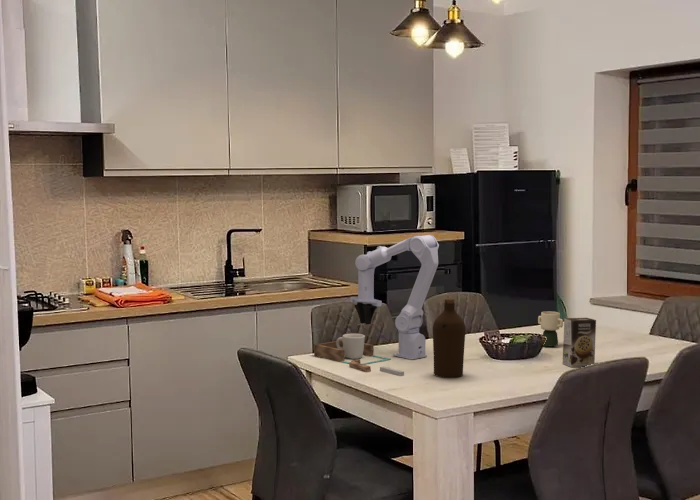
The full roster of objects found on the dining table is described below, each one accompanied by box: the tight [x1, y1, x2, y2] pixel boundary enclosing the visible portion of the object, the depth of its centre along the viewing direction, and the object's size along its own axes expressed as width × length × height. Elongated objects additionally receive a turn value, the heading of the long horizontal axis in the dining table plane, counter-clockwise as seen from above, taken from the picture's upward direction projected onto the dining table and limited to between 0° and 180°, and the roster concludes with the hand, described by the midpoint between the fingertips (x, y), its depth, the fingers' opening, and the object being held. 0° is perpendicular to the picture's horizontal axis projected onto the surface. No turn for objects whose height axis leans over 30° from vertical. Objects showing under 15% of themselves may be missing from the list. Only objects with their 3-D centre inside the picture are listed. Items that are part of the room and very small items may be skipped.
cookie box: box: [562, 317, 597, 368], centre depth 306 cm, size 9×6×16 cm
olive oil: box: [432, 297, 467, 379], centre depth 290 cm, size 11×11×25 cm
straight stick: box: [379, 366, 405, 377], centre depth 293 cm, size 10×2×2 cm, turn 40°
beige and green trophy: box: [537, 310, 564, 348], centre depth 340 cm, size 11×7×13 cm, turn 44°
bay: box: [339, 354, 392, 365], centre depth 312 cm, size 9×16×1 cm, turn 133°
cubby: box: [313, 340, 375, 362], centre depth 320 cm, size 15×15×4 cm
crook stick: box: [348, 358, 372, 373], centre depth 299 cm, size 11×4×2 cm, turn 35°
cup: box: [335, 333, 366, 360], centre depth 317 cm, size 11×8×8 cm
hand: (365, 323), depth 330 cm, fingers open, 2 cm apart
